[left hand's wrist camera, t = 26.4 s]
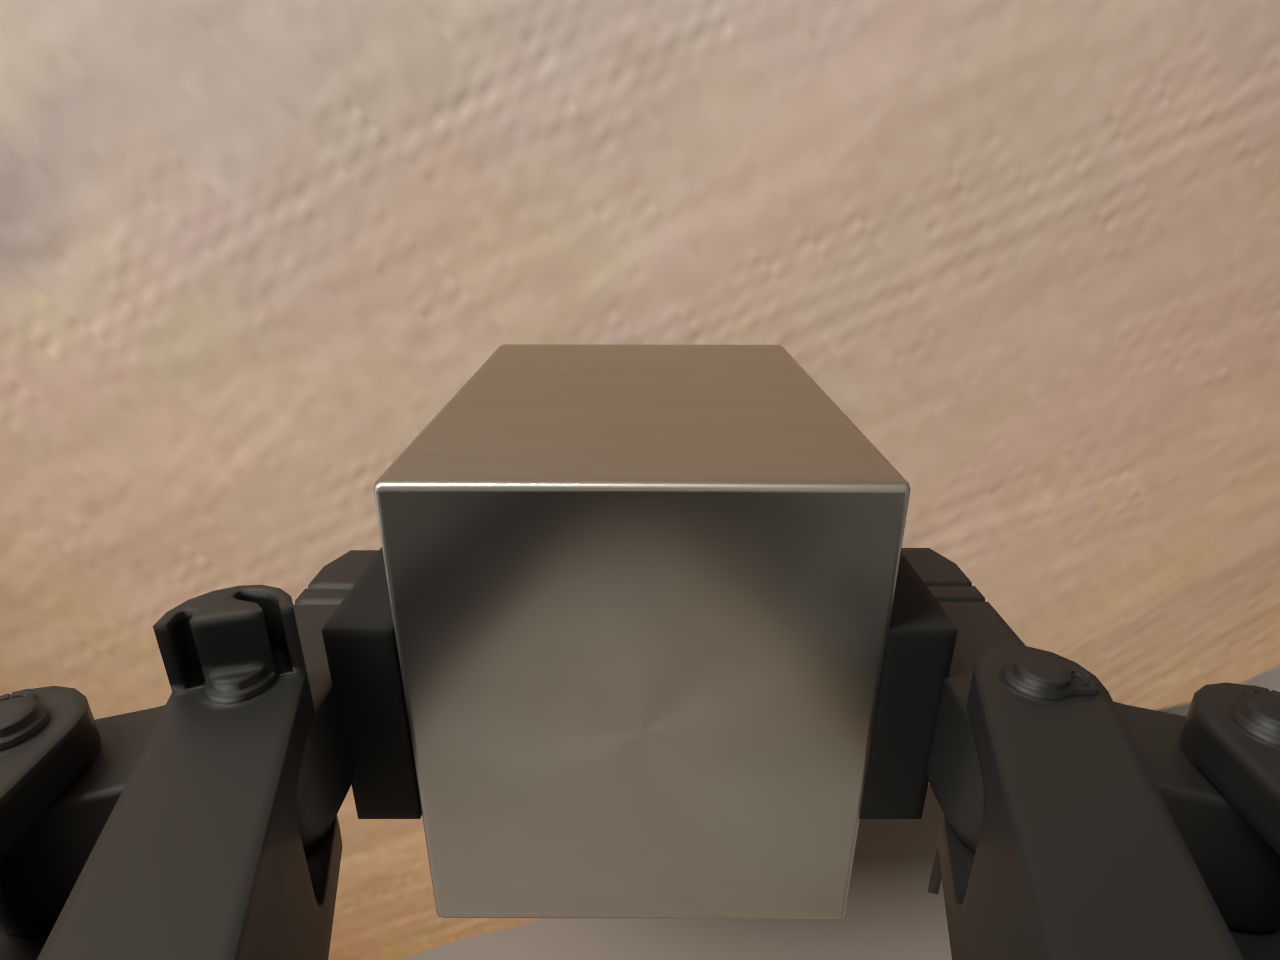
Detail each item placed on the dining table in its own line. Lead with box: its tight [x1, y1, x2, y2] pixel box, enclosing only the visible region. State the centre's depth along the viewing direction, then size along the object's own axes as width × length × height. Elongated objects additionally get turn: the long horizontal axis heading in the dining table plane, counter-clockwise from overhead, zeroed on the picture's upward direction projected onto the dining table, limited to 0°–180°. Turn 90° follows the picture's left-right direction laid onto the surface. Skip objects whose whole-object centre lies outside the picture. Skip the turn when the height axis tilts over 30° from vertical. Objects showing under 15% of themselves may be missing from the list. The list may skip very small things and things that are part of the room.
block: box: [374, 345, 910, 918], centre depth 11 cm, size 6×5×7 cm
